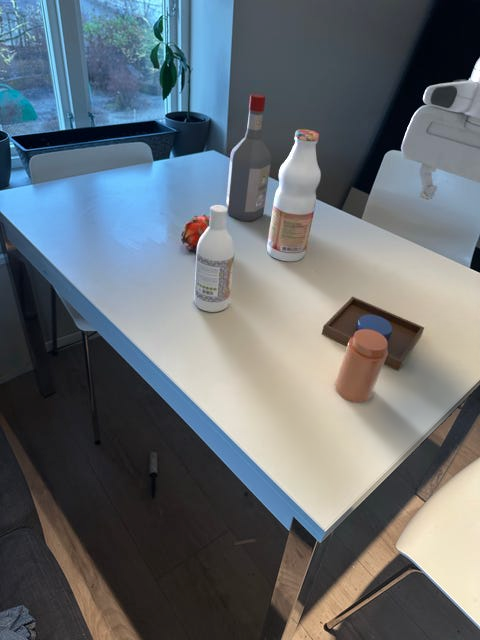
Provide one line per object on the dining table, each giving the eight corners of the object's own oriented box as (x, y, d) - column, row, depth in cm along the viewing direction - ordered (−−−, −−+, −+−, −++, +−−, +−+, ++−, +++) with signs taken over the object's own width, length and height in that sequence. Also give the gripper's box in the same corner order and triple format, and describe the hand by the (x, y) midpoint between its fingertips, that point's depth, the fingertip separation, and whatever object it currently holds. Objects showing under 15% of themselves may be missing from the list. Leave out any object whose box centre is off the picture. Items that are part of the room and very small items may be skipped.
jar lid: (351, 332, 85) (353, 324, 83) (363, 318, 89) (366, 310, 88) (382, 347, 82) (385, 339, 81) (393, 331, 86) (397, 323, 85)
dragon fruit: (222, 246, 111) (186, 267, 105) (202, 218, 111) (165, 237, 105) (236, 230, 104) (198, 251, 98) (215, 200, 104) (175, 219, 98)
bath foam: (229, 314, 86) (240, 218, 74) (193, 312, 86) (198, 215, 74) (228, 293, 92) (238, 201, 80) (194, 292, 91) (199, 198, 79)
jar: (376, 387, 74) (396, 338, 68) (362, 408, 70) (382, 358, 64) (344, 370, 77) (360, 322, 70) (328, 390, 73) (344, 340, 66)
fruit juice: (258, 249, 108) (275, 128, 92) (284, 240, 114) (304, 124, 97) (286, 266, 103) (310, 141, 86) (312, 255, 109) (339, 136, 92)
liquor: (266, 213, 126) (283, 97, 108) (249, 224, 119) (265, 102, 101) (239, 204, 129) (251, 90, 111) (221, 213, 123) (231, 94, 105)
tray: (421, 335, 87) (424, 327, 86) (398, 371, 78) (402, 362, 77) (349, 304, 93) (352, 296, 92) (321, 334, 84) (323, 325, 83)
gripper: (604, 121, 50) (542, 232, 59) (436, 83, 61) (403, 181, 69) (591, 126, 47) (526, 245, 55) (414, 85, 57) (382, 189, 66)
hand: (456, 209), depth 62 cm, fingers open, 8 cm apart
